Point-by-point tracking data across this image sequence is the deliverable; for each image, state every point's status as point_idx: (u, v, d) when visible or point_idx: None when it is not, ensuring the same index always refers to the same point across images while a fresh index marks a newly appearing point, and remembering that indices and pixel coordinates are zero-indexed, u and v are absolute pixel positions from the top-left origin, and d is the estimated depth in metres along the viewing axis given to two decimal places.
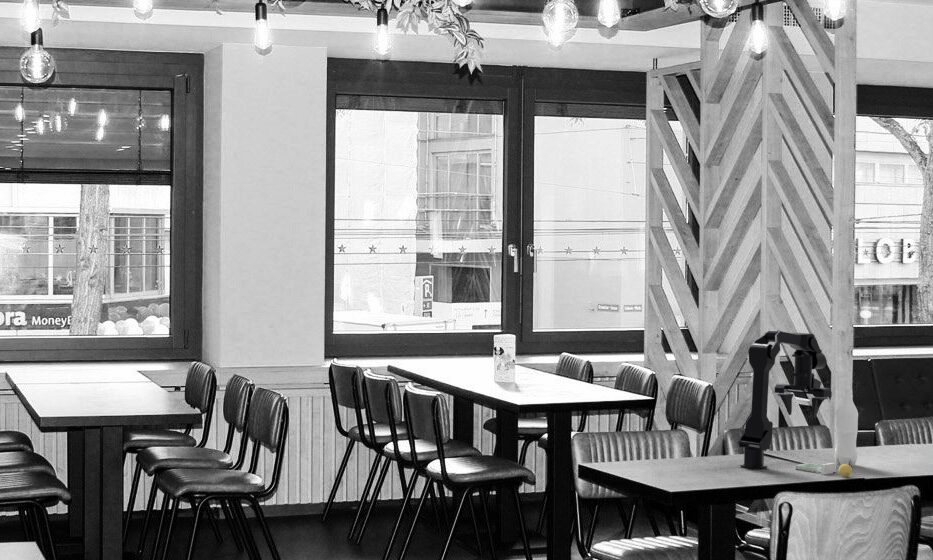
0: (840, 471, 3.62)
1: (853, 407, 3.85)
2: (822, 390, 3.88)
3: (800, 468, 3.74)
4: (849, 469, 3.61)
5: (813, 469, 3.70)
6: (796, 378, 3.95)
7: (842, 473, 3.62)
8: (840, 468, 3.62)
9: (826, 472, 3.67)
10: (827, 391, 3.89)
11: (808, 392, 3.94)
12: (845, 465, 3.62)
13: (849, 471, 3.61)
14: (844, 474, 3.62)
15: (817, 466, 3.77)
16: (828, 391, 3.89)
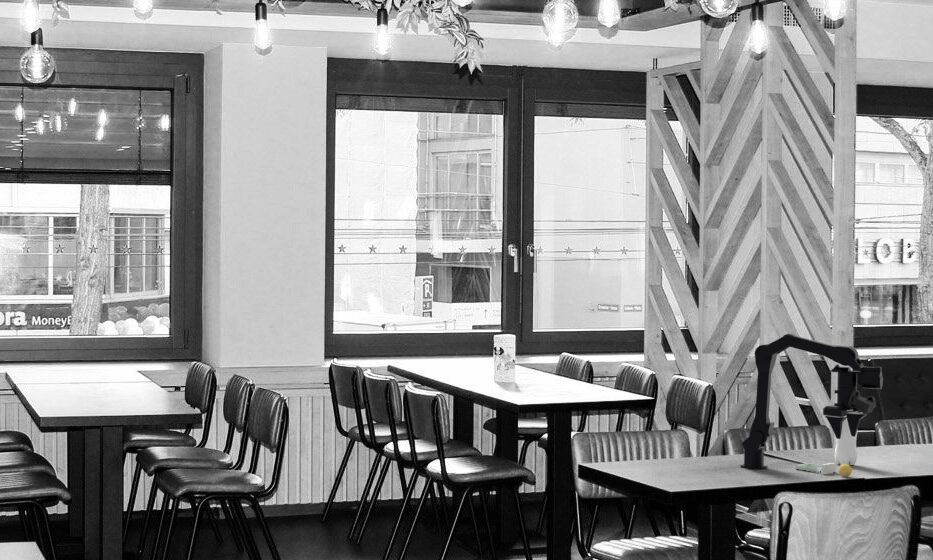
0: (840, 471, 3.62)
1: None
2: (824, 407, 3.59)
3: (800, 468, 3.74)
4: (849, 469, 3.61)
5: (813, 469, 3.70)
6: None
7: (842, 473, 3.62)
8: (840, 468, 3.62)
9: (826, 472, 3.67)
10: (831, 409, 3.57)
11: None
12: (845, 465, 3.62)
13: (849, 471, 3.61)
14: (844, 474, 3.62)
15: (817, 466, 3.77)
16: (832, 409, 3.57)
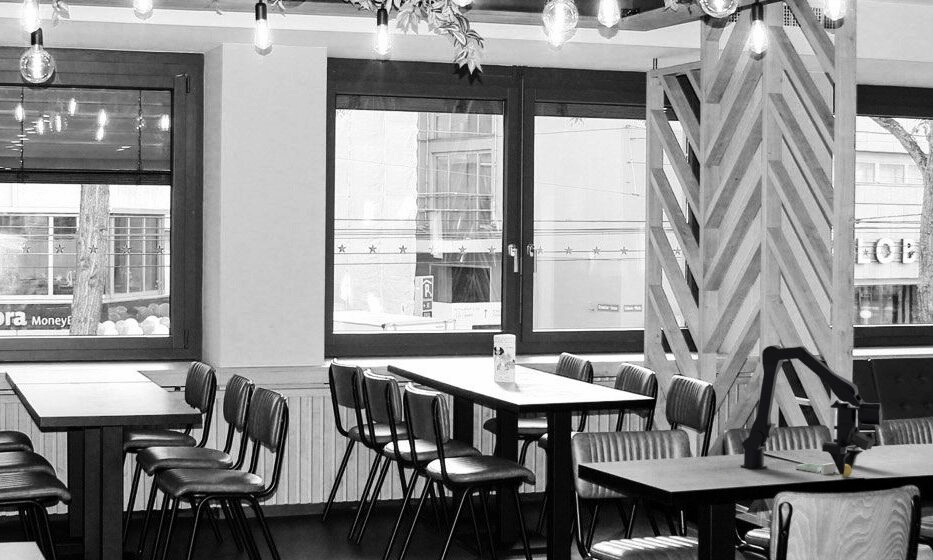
0: None
1: None
2: None
3: (800, 468, 3.74)
4: (849, 469, 3.61)
5: (813, 469, 3.70)
6: None
7: None
8: None
9: (826, 472, 3.67)
10: (830, 446, 3.57)
11: None
12: (845, 465, 3.62)
13: (849, 471, 3.61)
14: (844, 474, 3.62)
15: (817, 466, 3.77)
16: (831, 446, 3.56)
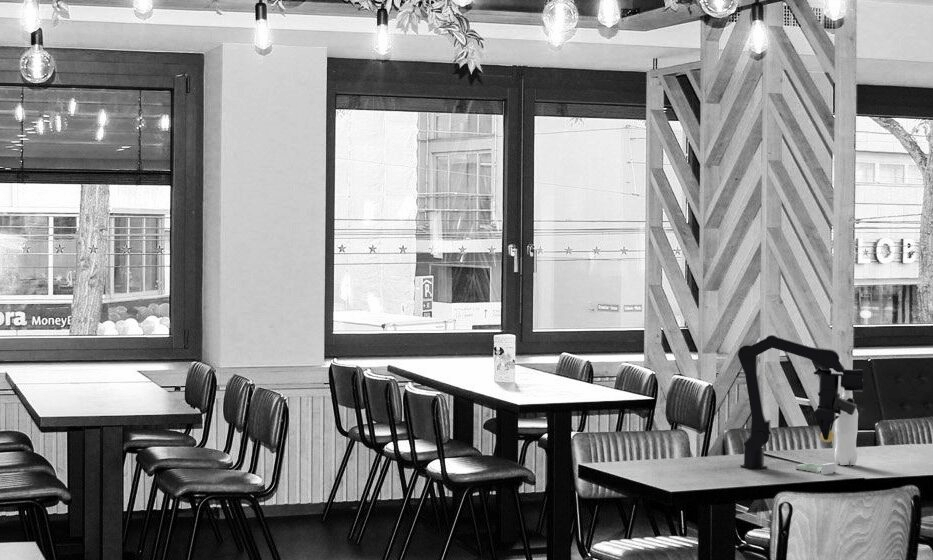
0: None
1: None
2: (816, 410, 3.62)
3: (800, 468, 3.74)
4: (832, 434, 3.68)
5: (813, 469, 3.70)
6: None
7: None
8: None
9: (826, 472, 3.67)
10: (824, 412, 3.61)
11: None
12: None
13: (832, 437, 3.68)
14: (828, 439, 3.68)
15: (817, 466, 3.77)
16: (825, 412, 3.61)
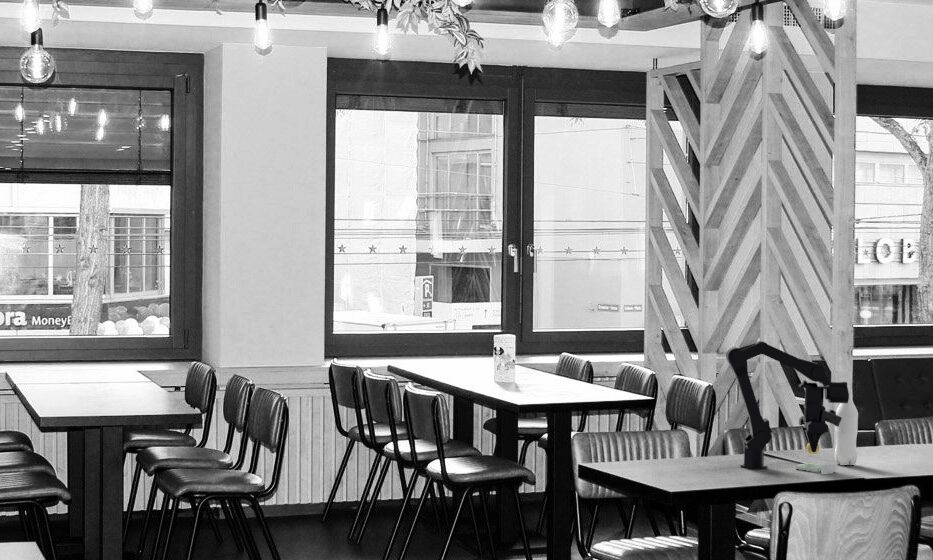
0: None
1: (853, 407, 3.85)
2: (810, 423, 3.66)
3: (800, 468, 3.74)
4: (818, 446, 3.74)
5: (813, 469, 3.70)
6: None
7: None
8: None
9: (826, 472, 3.67)
10: (819, 425, 3.65)
11: None
12: None
13: None
14: None
15: (817, 466, 3.77)
16: (820, 425, 3.65)
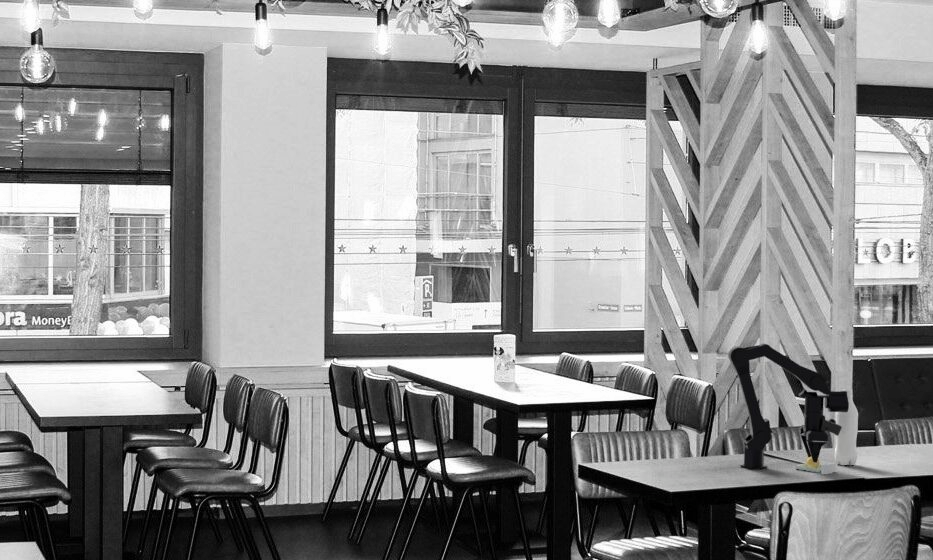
0: (812, 465, 3.73)
1: (853, 407, 3.85)
2: (810, 433, 3.66)
3: (800, 468, 3.74)
4: (818, 461, 3.73)
5: (813, 469, 3.70)
6: None
7: (813, 466, 3.73)
8: (811, 462, 3.73)
9: (826, 472, 3.67)
10: (818, 435, 3.65)
11: None
12: None
13: None
14: (815, 467, 3.73)
15: None
16: (820, 435, 3.65)
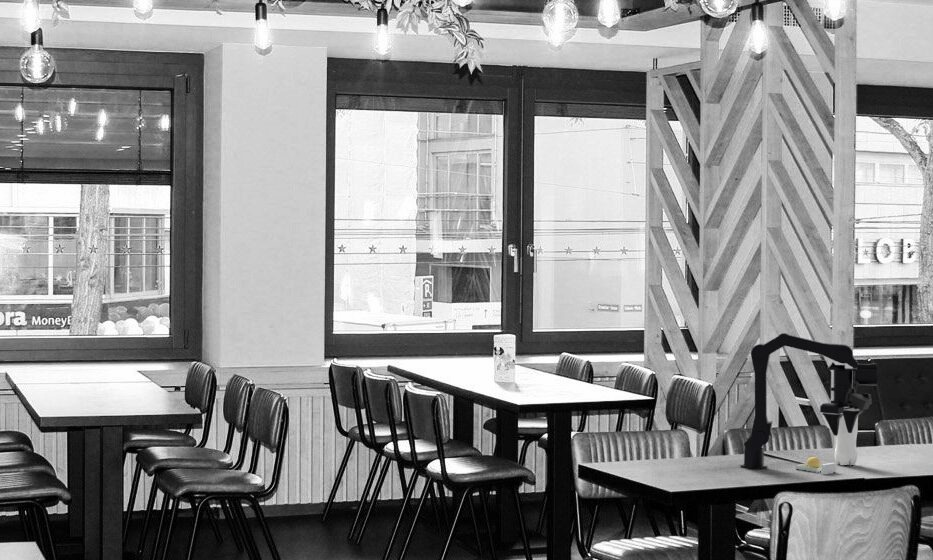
0: None
1: None
2: None
3: (800, 468, 3.74)
4: (819, 463, 3.72)
5: (813, 469, 3.70)
6: None
7: None
8: (812, 465, 3.72)
9: (826, 472, 3.67)
10: (828, 406, 3.62)
11: None
12: (816, 461, 3.72)
13: (819, 465, 3.73)
14: None
15: None
16: (829, 407, 3.62)
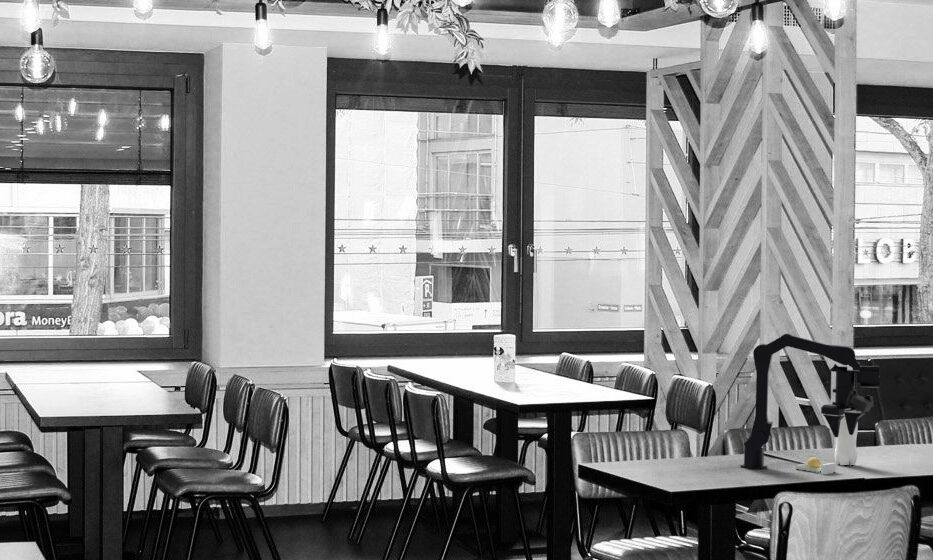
0: None
1: None
2: (822, 406, 3.64)
3: (800, 468, 3.74)
4: None
5: (813, 469, 3.70)
6: None
7: None
8: None
9: (826, 472, 3.67)
10: (829, 408, 3.62)
11: None
12: (816, 464, 3.71)
13: (819, 466, 3.72)
14: None
15: None
16: (830, 408, 3.61)
